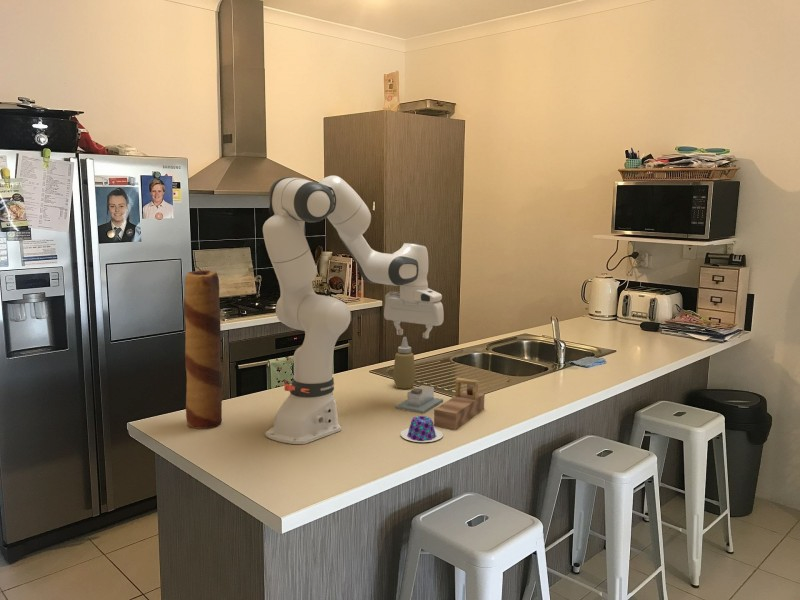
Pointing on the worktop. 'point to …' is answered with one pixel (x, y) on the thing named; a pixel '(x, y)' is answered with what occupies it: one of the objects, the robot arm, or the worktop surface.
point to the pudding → (421, 430)
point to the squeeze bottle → (404, 366)
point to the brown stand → (460, 406)
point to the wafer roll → (203, 349)
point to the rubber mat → (419, 409)
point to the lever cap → (420, 395)
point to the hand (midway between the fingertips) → (412, 336)
